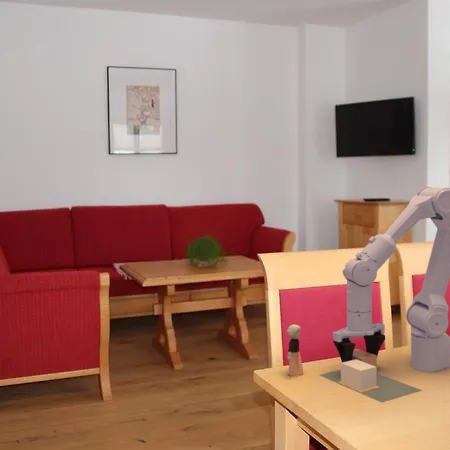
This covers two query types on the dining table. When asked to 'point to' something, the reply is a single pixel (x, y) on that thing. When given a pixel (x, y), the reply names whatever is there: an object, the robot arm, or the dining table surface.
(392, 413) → the dining table surface
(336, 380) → the baseplate
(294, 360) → the grandmother figurine
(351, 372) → the cream brick
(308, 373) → the dining table surface
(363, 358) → the terracotta brick
